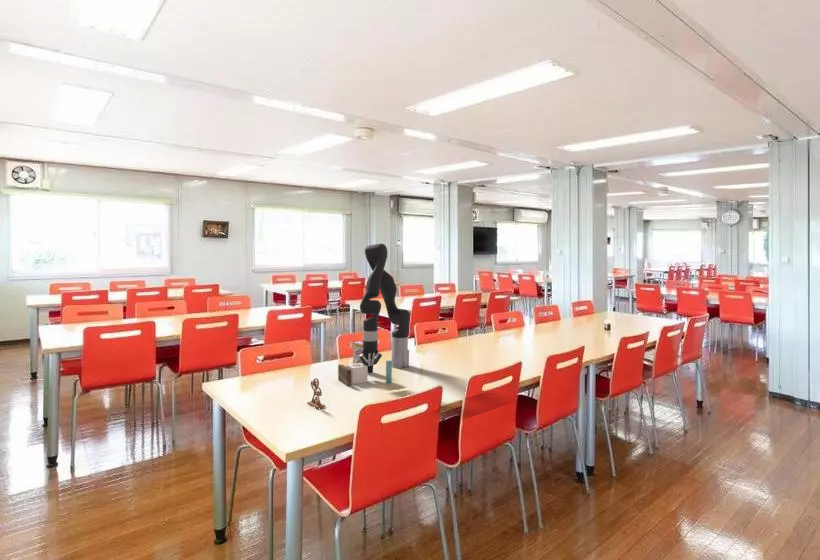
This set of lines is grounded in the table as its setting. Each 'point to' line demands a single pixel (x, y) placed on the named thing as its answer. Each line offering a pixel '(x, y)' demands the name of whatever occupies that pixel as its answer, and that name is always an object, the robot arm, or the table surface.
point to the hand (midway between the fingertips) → (369, 372)
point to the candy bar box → (357, 352)
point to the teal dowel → (388, 371)
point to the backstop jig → (344, 375)
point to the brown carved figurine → (314, 401)
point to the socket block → (358, 373)
